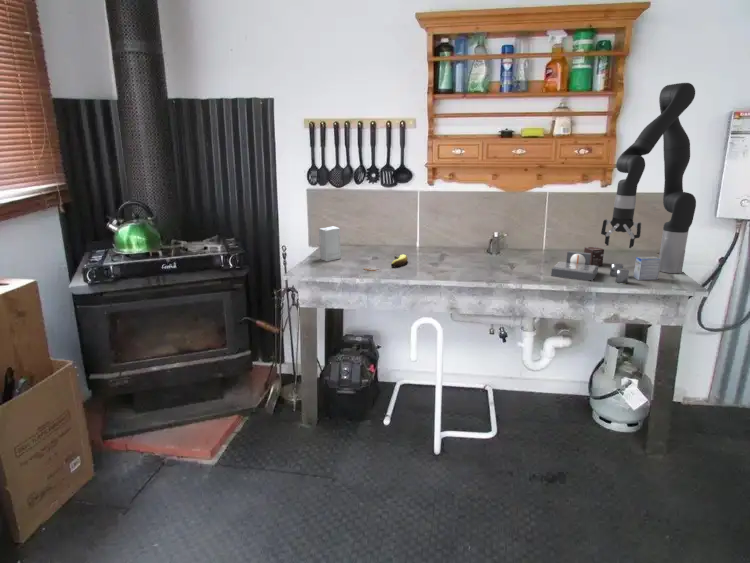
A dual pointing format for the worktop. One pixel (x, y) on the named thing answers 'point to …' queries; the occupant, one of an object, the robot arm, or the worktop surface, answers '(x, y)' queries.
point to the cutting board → (396, 262)
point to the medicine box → (647, 268)
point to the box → (595, 255)
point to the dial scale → (576, 267)
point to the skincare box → (329, 243)
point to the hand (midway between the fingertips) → (618, 246)
